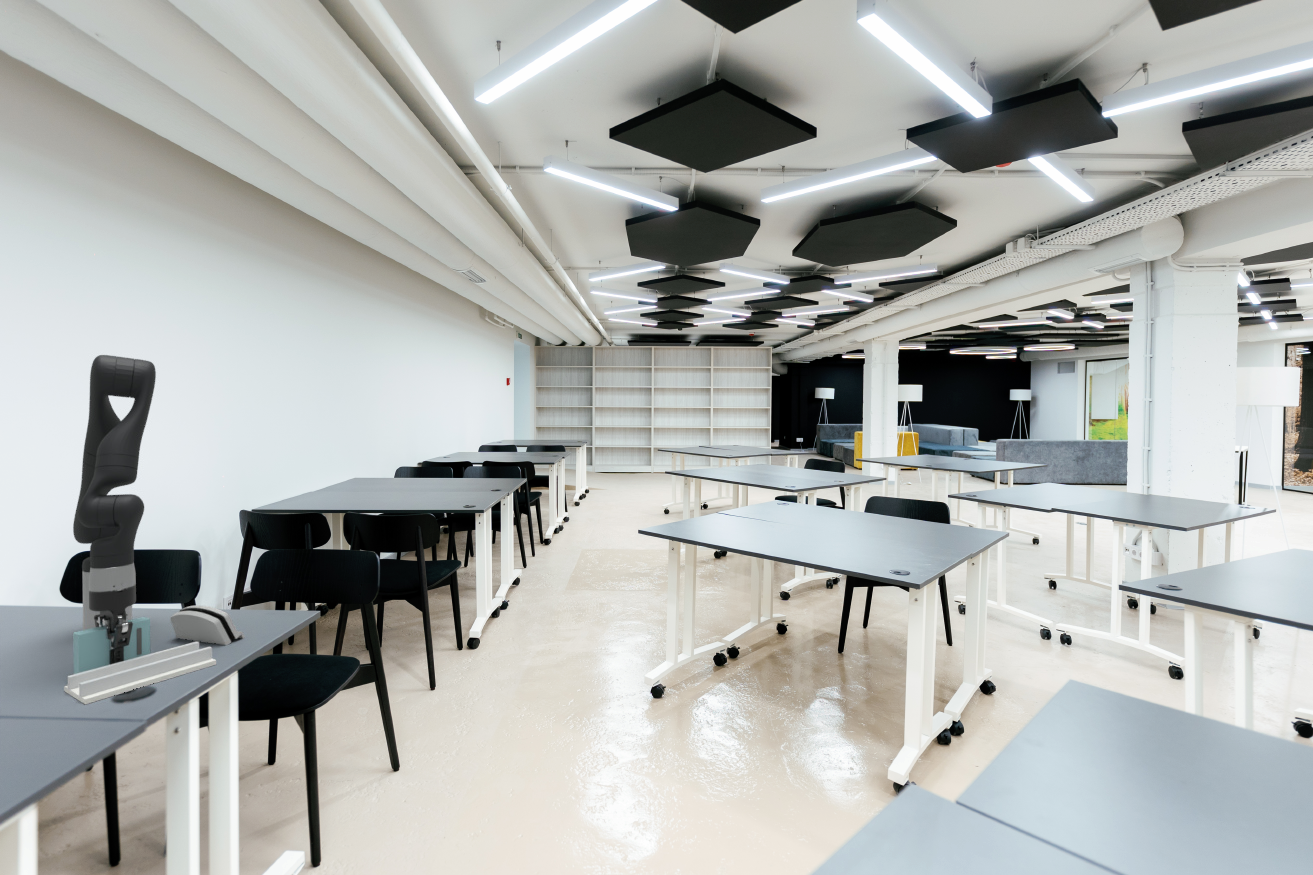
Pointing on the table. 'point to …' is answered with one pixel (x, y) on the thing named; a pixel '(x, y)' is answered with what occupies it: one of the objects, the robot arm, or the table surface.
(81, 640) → the door panel
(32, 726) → the table surface
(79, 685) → the door track
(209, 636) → the grey arched block
